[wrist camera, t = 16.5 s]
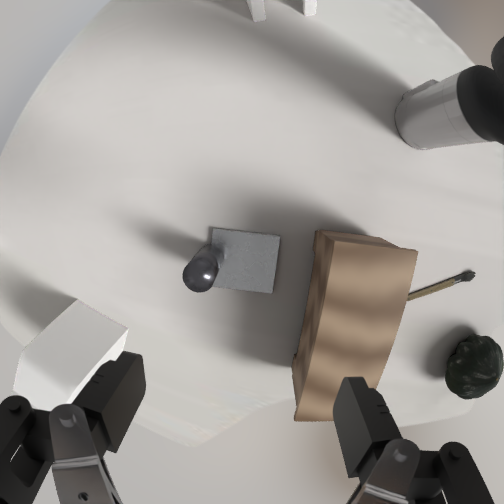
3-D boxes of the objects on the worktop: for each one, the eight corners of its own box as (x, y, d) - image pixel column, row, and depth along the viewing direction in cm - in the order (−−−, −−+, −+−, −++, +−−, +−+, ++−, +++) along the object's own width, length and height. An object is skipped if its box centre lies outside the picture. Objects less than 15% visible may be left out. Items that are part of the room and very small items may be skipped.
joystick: (200, 226, 43) (184, 239, 33) (279, 235, 43) (285, 250, 33) (197, 282, 45) (181, 307, 36) (271, 291, 45) (274, 319, 36)
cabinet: (313, 223, 43) (334, 241, 30) (378, 232, 43) (418, 251, 30) (287, 371, 49) (294, 421, 36) (344, 372, 49) (362, 419, 36)
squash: (467, 402, 46) (514, 394, 32) (429, 400, 46) (480, 394, 32) (472, 348, 52) (516, 332, 39) (436, 339, 52) (483, 320, 39)
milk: (128, 328, 48) (54, 421, 23) (118, 369, 50) (59, 458, 25) (77, 298, 47) (-12, 368, 22) (71, 341, 50) (1, 414, 24)
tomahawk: (385, 322, 47) (387, 325, 46) (385, 291, 45) (388, 294, 44) (469, 295, 46) (472, 297, 44) (472, 266, 43) (476, 268, 42)
